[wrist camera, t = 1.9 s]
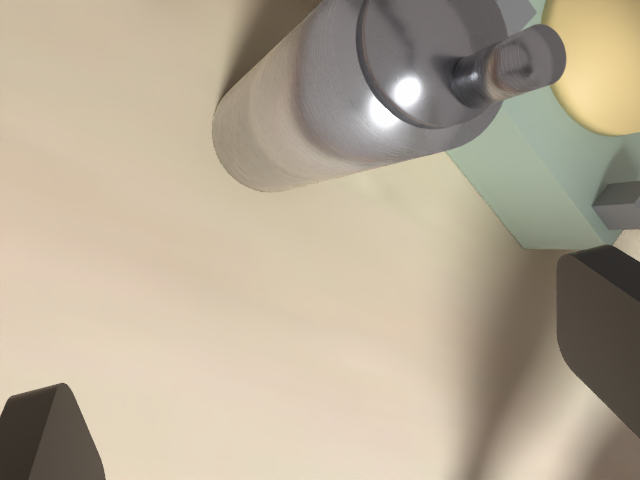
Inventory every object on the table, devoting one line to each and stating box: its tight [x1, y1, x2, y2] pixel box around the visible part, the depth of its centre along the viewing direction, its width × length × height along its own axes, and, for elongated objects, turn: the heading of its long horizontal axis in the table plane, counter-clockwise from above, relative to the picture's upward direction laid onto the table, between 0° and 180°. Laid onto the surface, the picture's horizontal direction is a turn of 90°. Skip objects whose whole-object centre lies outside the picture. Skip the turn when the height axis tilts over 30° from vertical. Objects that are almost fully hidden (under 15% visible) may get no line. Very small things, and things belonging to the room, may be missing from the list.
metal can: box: [212, 0, 566, 192], centre depth 21 cm, size 6×6×17 cm
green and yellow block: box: [445, 0, 640, 250], centre depth 30 cm, size 14×14×11 cm
